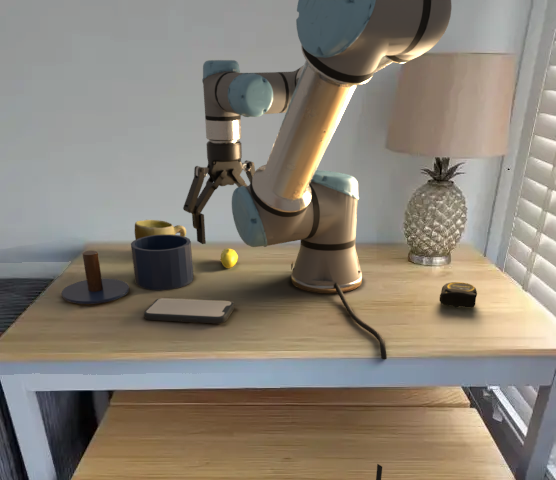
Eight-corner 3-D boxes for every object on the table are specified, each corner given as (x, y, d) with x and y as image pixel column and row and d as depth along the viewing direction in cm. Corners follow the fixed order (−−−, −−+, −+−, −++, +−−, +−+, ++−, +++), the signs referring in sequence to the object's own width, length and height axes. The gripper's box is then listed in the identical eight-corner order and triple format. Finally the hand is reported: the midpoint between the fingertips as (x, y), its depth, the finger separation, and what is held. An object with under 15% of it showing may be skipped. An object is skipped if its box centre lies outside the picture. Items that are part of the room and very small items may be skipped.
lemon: (218, 270, 141) (217, 254, 139) (222, 259, 148) (221, 244, 146) (236, 270, 141) (236, 254, 139) (239, 260, 148) (239, 244, 146)
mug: (126, 256, 144) (133, 213, 143) (134, 256, 154) (140, 217, 153) (178, 265, 145) (185, 223, 144) (182, 265, 155) (189, 226, 154)
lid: (139, 297, 126) (134, 255, 122) (73, 312, 119) (66, 267, 115) (116, 279, 136) (110, 239, 132) (54, 291, 129) (46, 250, 125)
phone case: (142, 321, 116) (224, 326, 113) (141, 313, 115) (223, 317, 112) (159, 304, 123) (236, 308, 120) (158, 296, 123) (235, 300, 120)
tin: (203, 282, 134) (200, 244, 130) (149, 294, 128) (144, 254, 124) (178, 267, 143) (175, 231, 139) (127, 277, 137) (122, 240, 133)
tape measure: (437, 308, 120) (439, 290, 118) (442, 296, 125) (444, 279, 124) (473, 313, 118) (476, 295, 116) (476, 300, 123) (479, 283, 122)
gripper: (263, 134, 140) (264, 226, 150) (162, 143, 128) (171, 242, 138) (281, 138, 135) (281, 233, 145) (178, 147, 123) (185, 250, 133)
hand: (227, 237), depth 141 cm, fingers open, 13 cm apart
